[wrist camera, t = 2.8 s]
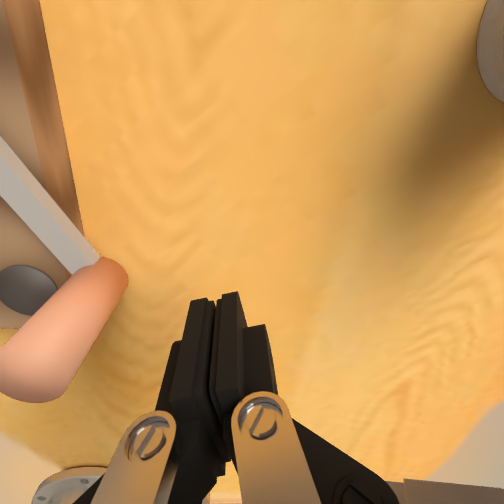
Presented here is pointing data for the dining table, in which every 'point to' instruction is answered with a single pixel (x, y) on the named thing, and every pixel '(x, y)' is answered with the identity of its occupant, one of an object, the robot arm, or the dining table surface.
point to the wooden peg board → (30, 160)
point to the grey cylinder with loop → (492, 48)
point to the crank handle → (55, 294)
